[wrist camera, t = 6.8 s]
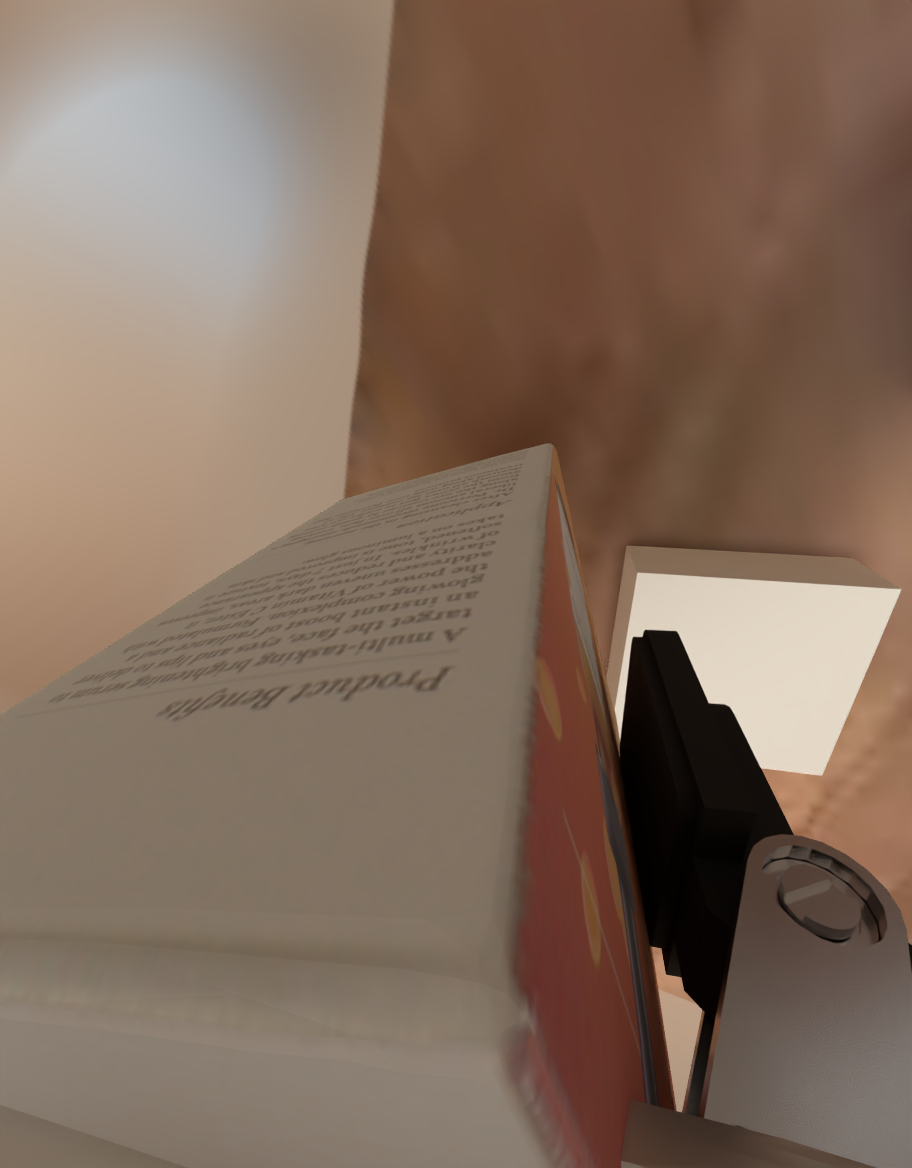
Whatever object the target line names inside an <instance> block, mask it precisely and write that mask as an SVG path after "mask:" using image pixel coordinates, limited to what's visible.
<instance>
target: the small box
mask: <svg viewBox="0 0 912 1168" xmlns="http://www.w3.org/2000/svg"><path fill="white" fill-rule="evenodd" d="M631 1100H635V1101H639V1102H642V1103H646V1104H650V1105H654V1106H658V1107H662V1108H666V1109H670V1110H674V1111H676V1104H675V1098H674V1091H673V1084H672V1078H671V1071H670V1065H669V1058H668V1051H667V1045H666V1039H665V1032H664V1025H663V1018H662V1012H661V1005H660V999H659V992H658V985H657V978H656V971H655V965H654V958H653V952H652V946H650V943H649V937H648V931H647V924H646V918H645V912H644V906H643V899H642V893H641V887H640V881H639V874H638V868H637V862H636V856H635V849H634V843H633V837H632V831H631V825H630V819H629V813H628V807H627V801H626V795H625V788H624V782H623V776H622V770H621V763H620V738H619V732H618V725H617V719H616V714H615V710H614V707H613V703H612V698H611V695H610V691H609V687H608V684H607V680H606V676H605V672H604V668H603V664H602V660H601V656H600V651H599V647H598V642H597V638H596V633H595V628H594V624H593V619H592V614H591V609H590V605H589V600H588V595H587V590H586V585H585V581H584V576H583V571H582V566H581V561H580V557H579V552H578V547H577V542H576V538H575V533H574V528H573V523H572V519H571V514H570V509H569V505H568V500H567V495H566V491H565V486H564V482H563V477H562V472H561V468H560V463H559V458H558V454H557V451H556V449H555V446H554V445H552V444H551V443H547V444H543V445H539V446H535V447H531V448H527V449H523V450H519V451H515V452H511V453H507V454H503V455H500V456H496V457H492V458H488V459H485V460H481V461H477V462H474V463H470V464H466V465H463V466H459V467H456V468H452V469H449V470H445V471H441V472H438V473H434V474H430V475H427V476H423V477H420V478H416V479H412V480H409V481H405V482H401V483H398V484H394V485H391V486H387V487H383V488H380V489H376V490H373V491H369V492H366V493H363V494H359V495H356V496H353V497H349V498H345V499H343V500H340V501H339V502H337V503H336V504H334V505H333V506H331V507H330V508H328V509H327V510H325V511H324V512H322V513H320V514H318V515H317V516H315V517H314V518H312V519H310V520H309V521H307V522H306V523H304V524H303V525H301V526H299V527H297V528H296V529H294V530H292V531H291V532H289V533H288V534H286V535H285V536H283V537H282V538H280V539H278V540H277V541H275V542H273V543H272V544H270V545H269V546H267V547H266V548H264V549H262V550H261V551H259V552H257V553H255V554H254V555H252V556H251V557H249V558H248V559H246V560H245V561H243V562H241V563H240V564H238V565H236V566H235V567H233V568H231V569H230V570H228V571H226V572H225V573H223V574H222V575H220V576H219V577H217V578H216V579H214V580H212V581H211V582H209V583H208V584H206V585H204V586H203V587H201V588H200V589H198V590H196V591H195V592H193V593H192V594H190V595H188V596H187V597H185V598H184V599H182V600H181V601H179V602H177V603H176V604H174V605H173V606H171V607H170V608H168V609H167V610H165V611H164V612H162V613H161V614H159V615H157V616H156V617H154V618H152V619H151V620H149V621H147V622H146V623H144V624H143V625H141V626H140V627H138V628H136V629H135V630H133V631H132V632H130V633H129V634H127V635H126V636H124V637H123V638H121V639H119V640H118V641H116V642H115V643H113V644H112V645H110V646H108V647H107V648H105V649H104V650H102V651H100V652H99V653H97V654H96V655H94V656H92V657H91V658H89V659H88V660H86V661H85V662H83V663H81V664H80V665H78V666H77V667H75V668H74V669H72V670H70V671H69V672H67V673H66V674H64V675H62V676H61V677H59V678H58V679H56V680H55V681H53V682H51V683H50V684H48V685H47V686H45V687H44V688H42V689H41V690H39V691H37V692H36V693H34V694H32V695H31V696H29V697H28V698H26V699H24V700H23V701H21V702H20V703H18V704H16V705H15V706H13V707H11V708H10V709H8V710H7V711H5V712H3V713H2V714H0V1105H2V1106H5V1107H8V1108H11V1109H14V1110H17V1111H20V1112H23V1113H26V1114H29V1115H32V1116H35V1117H38V1118H41V1119H44V1120H47V1121H50V1122H53V1123H56V1124H59V1125H62V1126H65V1127H68V1128H71V1129H74V1130H77V1131H80V1132H83V1133H86V1134H89V1135H92V1136H95V1137H98V1138H101V1139H104V1140H107V1141H110V1142H113V1143H116V1144H119V1145H122V1146H125V1147H128V1148H131V1149H134V1150H137V1151H140V1152H143V1153H146V1154H149V1155H152V1156H155V1157H158V1158H160V1159H163V1160H166V1161H169V1162H172V1163H175V1164H178V1165H181V1166H184V1167H187V1168H621V1156H622V1149H623V1142H624V1136H625V1129H626V1123H627V1118H628V1113H629V1108H630V1103H631Z"/></svg>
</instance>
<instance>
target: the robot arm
mask: <svg viewBox="0 0 912 1168" xmlns="http://www.w3.org/2000/svg"><path fill="white" fill-rule="evenodd" d="M620 763H621V770H622V776H623V782H624V788H625V795H626V801H627V807H628V813H629V819H630V825H631V831H632V837H633V843H634V849H635V856H636V862H637V868H638V874H639V881H640V887H641V893H642V899H643V906H644V912H645V918H646V924H647V931H648V937H649V943H650V946H652V947H657V948H662V954H663V960H664V966H665V971H666V975H672V976H677V977H682V982H683V987H684V991H685V992H686V993H687V994H688V995H689V996H690V997H691V998H692V999H693V1000H694V1001H695V1002H696V1003H697V1005H698V1006H699V1007H700V1008H701V1009H702V1015H701V1020H700V1025H699V1030H698V1035H697V1041H696V1045H695V1050H694V1055H693V1060H692V1065H691V1070H690V1075H689V1080H688V1085H687V1090H686V1096H685V1100H684V1106H683V1110H682V1112H677V1111H674V1110H670V1109H666V1108H662V1107H658V1106H654V1105H650V1104H646V1103H642V1102H639V1101H635V1100H631V1103H630V1108H629V1113H628V1118H627V1123H626V1129H625V1136H624V1142H623V1149H622V1156H621V1168H912V945H911V944H909V943H908V937H907V930H906V927H905V923H904V920H903V917H902V914H901V911H900V909H899V907H898V906H897V904H896V903H895V901H894V900H893V898H892V897H891V895H890V894H889V892H888V891H887V889H886V888H885V887H884V886H883V885H882V884H881V883H880V882H879V881H878V880H877V879H876V878H875V877H874V876H873V875H872V874H871V873H870V872H869V871H868V870H867V869H865V868H864V867H863V866H861V865H860V864H859V863H857V862H856V861H854V860H853V859H852V858H850V857H849V856H847V855H846V854H844V853H842V852H840V851H838V850H836V849H834V848H832V847H831V846H829V845H827V844H825V843H822V842H819V841H816V840H813V839H809V838H806V837H803V836H797V835H794V834H793V832H792V830H791V828H790V826H789V824H788V822H787V820H786V818H785V816H784V814H783V812H782V810H781V808H780V806H779V804H778V802H777V800H776V798H775V796H774V794H773V792H772V790H771V788H770V786H769V784H768V782H767V780H766V777H765V775H764V773H763V771H762V769H761V767H760V765H759V763H758V761H757V759H756V757H755V755H754V753H753V751H752V749H751V747H750V745H749V743H748V741H747V739H746V737H745V735H744V733H743V731H742V729H741V727H740V725H739V723H738V721H737V719H736V717H735V715H734V713H733V711H732V710H731V708H730V707H729V706H727V705H726V704H713V703H709V702H708V700H707V698H706V696H705V693H704V691H703V689H702V686H701V684H700V682H699V679H698V677H697V675H696V672H695V670H694V668H693V666H692V663H691V661H690V659H689V656H688V654H687V652H686V649H685V647H684V645H683V643H682V640H681V638H680V636H679V634H678V632H677V631H665V630H645V631H644V633H643V637H633V638H632V643H631V651H630V660H629V668H628V677H627V686H626V695H625V703H624V712H623V721H622V729H621V738H620ZM0 1168H187V1167H184V1166H181V1165H178V1164H175V1163H172V1162H169V1161H166V1160H163V1159H160V1158H158V1157H155V1156H152V1155H149V1154H146V1153H143V1152H140V1151H137V1150H134V1149H131V1148H128V1147H125V1146H122V1145H119V1144H116V1143H113V1142H110V1141H107V1140H104V1139H101V1138H98V1137H95V1136H92V1135H89V1134H86V1133H83V1132H80V1131H77V1130H74V1129H71V1128H68V1127H65V1126H62V1125H59V1124H56V1123H53V1122H50V1121H47V1120H44V1119H41V1118H38V1117H35V1116H32V1115H29V1114H26V1113H23V1112H20V1111H17V1110H14V1109H11V1108H8V1107H5V1106H2V1105H0Z"/></svg>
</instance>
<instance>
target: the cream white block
mask: <svg viewBox="0 0 912 1168" xmlns="http://www.w3.org/2000/svg"><path fill="white" fill-rule="evenodd" d="M900 592H901V589H900V588H899V587H897V586H895V585H894V584H892V583H891V582H889V581H888V580H886V579H885V578H883V577H881V576H880V575H878V574H877V573H875V572H874V571H872V570H871V569H869V568H867V567H866V566H864V565H863V564H861V563H860V562H858V561H857V560H855V559H854V558H845V557H827V556H809V555H790V554H772V553H754V552H736V551H718V550H700V549H681V548H663V547H645V546H626V552H625V559H624V565H623V572H622V579H621V585H620V592H619V598H618V605H617V611H616V618H615V625H614V631H613V638H612V644H611V651H610V657H609V664H608V671H607V677H606V680H607V684H608V687H609V691H610V695H611V698H612V703H613V707H614V710H615V714H616V719H617V725H618V732H619V738H621V729H622V721H623V712H624V703H625V695H626V686H627V677H628V668H629V660H630V651H631V643H632V638H633V637H643V633H644V631H645V630H665V631H677V632H678V634H679V636H680V638H681V640H682V643H683V645H684V647H685V649H686V652H687V654H688V656H689V659H690V661H691V663H692V666H693V668H694V670H695V672H696V675H697V677H698V679H699V682H700V684H701V686H702V689H703V691H704V693H705V696H706V698H707V700H708V702H709V703H713V704H726V705H727V706H729V707H730V708H731V710H732V711H733V713H734V715H735V717H736V719H737V721H738V723H739V725H740V727H741V729H742V731H743V733H744V735H745V737H746V739H747V741H748V743H749V745H750V747H751V749H752V751H753V753H754V755H755V757H756V759H757V761H758V763H759V765H760V767H761V768H765V769H773V770H781V771H789V772H797V773H804V774H812V775H820V776H822V774H823V772H824V770H825V767H826V765H827V763H828V760H829V758H830V756H831V753H832V751H833V749H834V746H835V744H836V742H837V739H838V737H839V734H840V732H841V730H842V727H843V725H844V723H845V720H846V718H847V716H848V713H849V711H850V709H851V706H852V704H853V702H854V699H855V697H856V695H857V692H858V690H859V688H860V685H861V683H862V681H863V678H864V676H865V674H866V671H867V669H868V667H869V664H870V662H871V660H872V657H873V655H874V653H875V650H876V648H877V646H878V643H879V641H880V638H881V636H882V634H883V631H884V629H885V627H886V624H887V622H888V620H889V617H890V615H891V613H892V610H893V608H894V606H895V603H896V601H897V599H898V596H899V594H900Z"/></svg>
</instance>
